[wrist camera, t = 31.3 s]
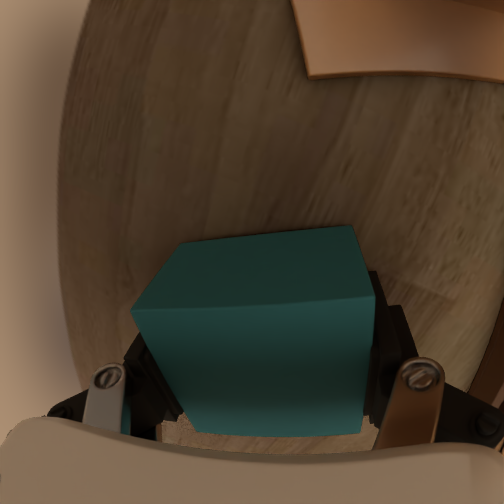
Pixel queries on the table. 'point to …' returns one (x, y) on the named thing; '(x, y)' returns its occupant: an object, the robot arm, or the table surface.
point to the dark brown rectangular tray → (492, 369)
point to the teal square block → (264, 332)
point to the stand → (402, 38)
